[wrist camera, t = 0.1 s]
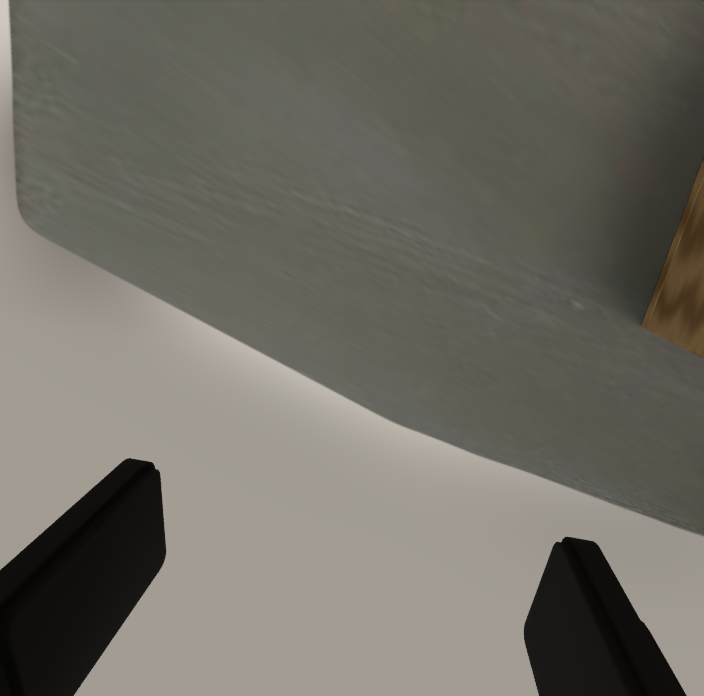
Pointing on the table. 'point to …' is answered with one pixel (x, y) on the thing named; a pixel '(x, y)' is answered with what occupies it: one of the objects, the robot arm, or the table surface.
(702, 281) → the cabinet
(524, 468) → the table surface
